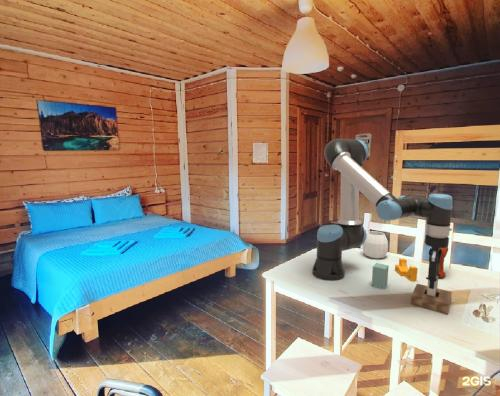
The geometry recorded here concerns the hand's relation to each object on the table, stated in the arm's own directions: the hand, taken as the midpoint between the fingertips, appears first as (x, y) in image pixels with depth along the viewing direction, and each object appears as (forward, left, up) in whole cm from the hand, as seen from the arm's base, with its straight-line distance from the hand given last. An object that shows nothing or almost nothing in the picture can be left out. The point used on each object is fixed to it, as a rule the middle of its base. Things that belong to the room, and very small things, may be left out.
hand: (431, 293), depth 113 cm
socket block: (0, 0, -4) cm, 4 cm away
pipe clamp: (-13, +22, -4) cm, 26 cm away
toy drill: (0, +36, -4) cm, 36 cm away
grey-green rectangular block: (-20, +4, -4) cm, 21 cm away
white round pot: (-32, +40, -4) cm, 51 cm away
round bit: (0, 0, -3) cm, 3 cm away
